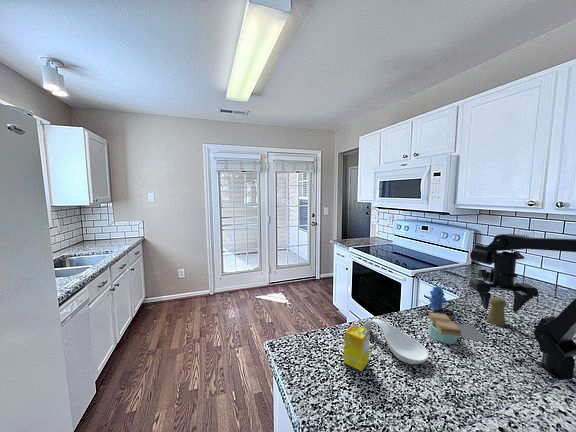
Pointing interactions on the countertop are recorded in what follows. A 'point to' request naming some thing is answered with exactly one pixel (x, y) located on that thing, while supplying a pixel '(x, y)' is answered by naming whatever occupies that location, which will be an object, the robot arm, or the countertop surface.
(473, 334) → the mat
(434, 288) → the grapes
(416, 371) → the countertop surface
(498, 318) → the olive brown pear
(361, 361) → the supplement box
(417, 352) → the spoon rest
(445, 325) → the tan wooden plank
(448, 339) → the bowl
